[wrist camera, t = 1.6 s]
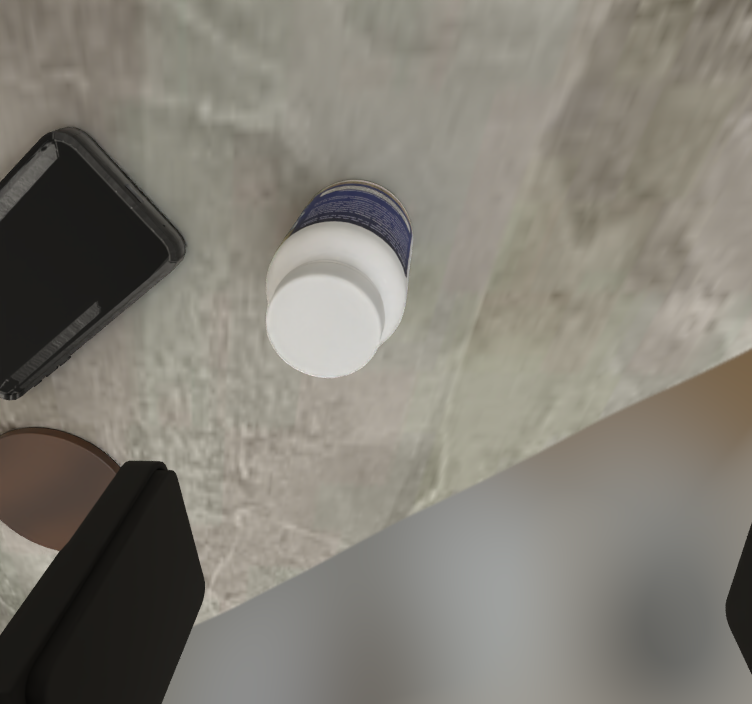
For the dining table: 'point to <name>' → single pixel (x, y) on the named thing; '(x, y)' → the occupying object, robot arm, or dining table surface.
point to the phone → (71, 254)
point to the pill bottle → (339, 279)
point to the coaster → (50, 483)
